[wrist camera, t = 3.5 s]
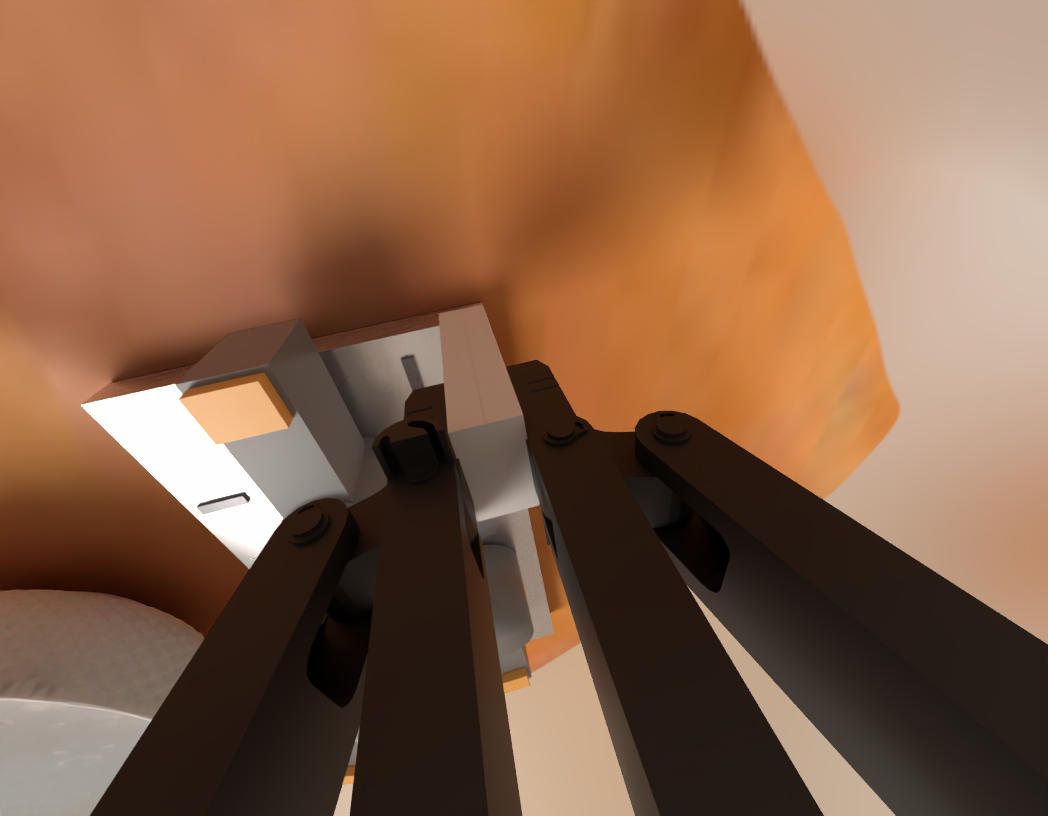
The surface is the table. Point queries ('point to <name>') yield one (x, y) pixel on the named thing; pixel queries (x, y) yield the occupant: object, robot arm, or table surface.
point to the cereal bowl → (78, 692)
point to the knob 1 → (281, 417)
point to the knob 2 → (509, 615)
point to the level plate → (231, 495)
